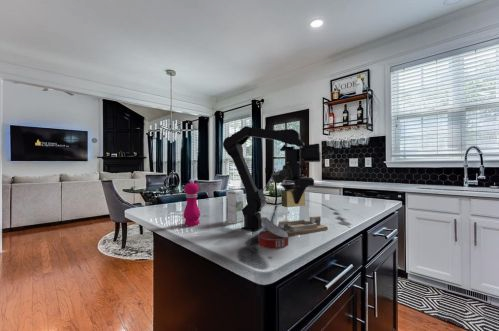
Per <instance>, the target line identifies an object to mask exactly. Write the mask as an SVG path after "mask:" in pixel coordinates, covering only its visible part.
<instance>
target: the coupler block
mask: <svg viewBox="0 0 499 331" xmlns="http://www.w3.org/2000/svg"><path fill="white" fill-rule="evenodd" d="M305 192H306V190H305V191H304V193H303V195H302V197H301V199H300V201H299V203H298V204H295V198H294V190H285V189H281V207H284V208H295V207H304V206H306V193H305Z"/></svg>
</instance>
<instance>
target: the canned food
mask: <svg viewBox="0 0 499 331" xmlns="http://www.w3.org/2000/svg"><path fill="white" fill-rule="evenodd" d="M261 218H262V226H263V227H264V228H265V229H266V231H265V230H264V231H261V232H260V233H258V245H259V246H260V247H262V248H265V249H274V250H275V249H276V250H278V249H284V248H286V247H288V246H289V236H288V234H287V233H286V232H285V231H284V230H282V229H281V228H279V227H278V224H277V225H276V224H275V223H274V222H273V221H270V219H268V218H267V217H266V216H265V217H261Z"/></svg>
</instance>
